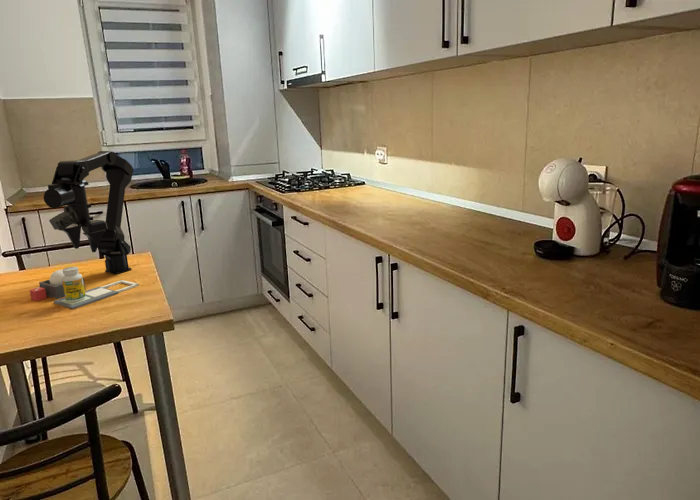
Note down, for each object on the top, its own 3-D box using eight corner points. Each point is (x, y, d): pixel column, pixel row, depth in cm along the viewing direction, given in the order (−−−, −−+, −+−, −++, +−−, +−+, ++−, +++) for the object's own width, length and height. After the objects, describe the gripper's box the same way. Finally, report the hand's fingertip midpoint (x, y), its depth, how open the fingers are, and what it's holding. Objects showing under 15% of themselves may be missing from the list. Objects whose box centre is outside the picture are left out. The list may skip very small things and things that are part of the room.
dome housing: (69, 285, 166) (67, 274, 165) (85, 289, 162) (83, 278, 161) (27, 298, 156) (25, 286, 155) (43, 303, 151) (41, 291, 150)
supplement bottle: (86, 294, 155) (80, 264, 152) (86, 300, 150) (80, 269, 148) (66, 298, 153) (60, 267, 150) (65, 303, 148) (59, 272, 146)
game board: (120, 281, 169) (120, 279, 169) (140, 286, 164) (139, 283, 164) (53, 303, 151) (53, 300, 151) (73, 309, 146) (72, 306, 146)
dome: (67, 284, 165) (64, 265, 163) (80, 288, 161) (76, 268, 159) (45, 291, 159) (41, 271, 157) (58, 294, 155) (54, 274, 154)
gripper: (33, 204, 156) (43, 253, 161) (69, 209, 147) (78, 261, 151) (69, 198, 165) (77, 244, 170) (104, 202, 156) (112, 251, 160)
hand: (85, 250), depth 162 cm, fingers open, 9 cm apart
